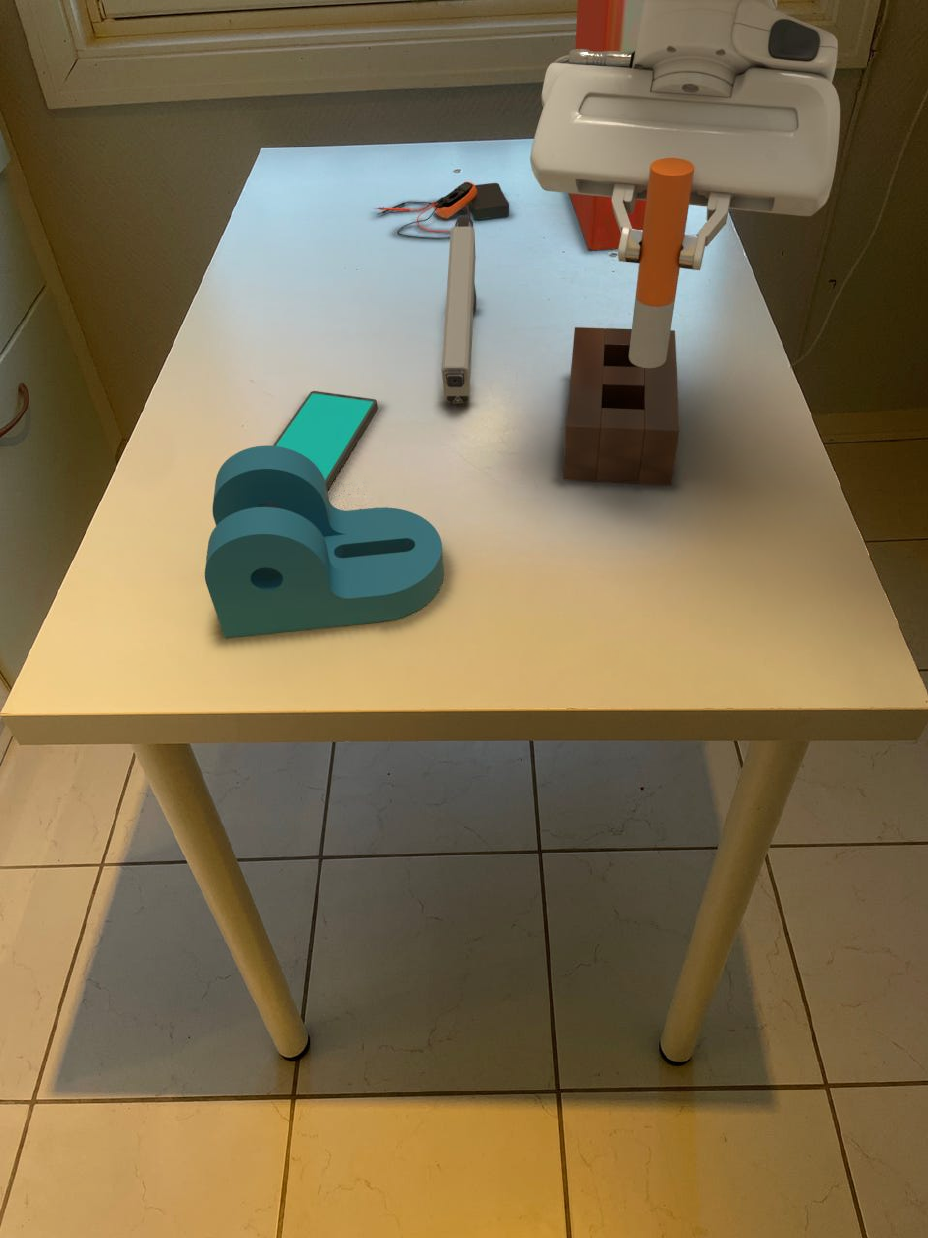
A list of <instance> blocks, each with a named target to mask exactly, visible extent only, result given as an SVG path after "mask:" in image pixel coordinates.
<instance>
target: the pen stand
mask: <svg viewBox="0 0 928 1238" xmlns="http://www.w3.org/2000/svg"><path fill="white" fill-rule="evenodd" d="M573 332H574V333H573V343H572V354H571V368H570V378H569V387H568V399H567V400H568V401H567V409H566V410H567V411H566V422H565V436H564V437H565V439H564V459H563V475H562V476H563V477H562V478H563V479H562V480H563V481H578V482H579V481H580V482H601V483H602V482H603V483H619V484H620V483H621V484H641V485H660V486H661V485H663V486H672V483H673V477H674V470H675V465H676V457H677V451H678V447H679V446H678V445H679V439H680V433H681V427H680V406H679V386H678V364H677V363H678V362H677V346H676V345H677V343H676V341H677V340H676V330H675V329H671V331H670V338H669V344H668V351H667V358H666V361H665V363H664V364H663V365H661V366H659V367H656V368H642V367H638V366H636V365H634V364H633V363H631V361H630V360H629V350H630V341H631V332H632V328H621V327H619V328H618V327H617V328H616V327H585V326H575V327H574V331H573Z"/></svg>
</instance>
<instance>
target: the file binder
mask: <svg viewBox="0 0 928 1238" xmlns="http://www.w3.org/2000/svg"><path fill="white" fill-rule="evenodd" d="M644 3H645V0H577V9H576V25H575V26H576V27H575V46H574V47H575V48H574V50H575V49H587V50H589V51H594V52H604V51H607V52H608V51H622V52H634V51H635V50H636V43H637V38H638V33H639V28H640V23H641V18H642V12H643V7H644ZM568 195H569V198H570V199H571V203H572V206H573V210H574V212H575V215H576V217H577V221H578V223H579V226H580V229H581V233H582V234H583V235H582V236H583V238H584V240H585V243H586V246H587V249H588V250H591V251H602V250H603V251H604V250H618V249H619V244H620V238H621V232H620V229H619V226H618V223H617V220H616V218H615V215H614V211H613V206H612V197H603V196H593V195H583V194H572V193H568ZM645 208H646V201H644V200H636V202H635V207H634V212H633V213H632V214H628V213H627V215H628V218H629V221H630V224H631V227H632V229H636V230H643V226H644V217H645Z"/></svg>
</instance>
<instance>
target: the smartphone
mask: <svg viewBox="0 0 928 1238" xmlns="http://www.w3.org/2000/svg"><path fill="white" fill-rule="evenodd" d="M377 410H378V400H377V399H376V398H370V397H369V398H368V397H363V396H362V397H361V396H356V395H355V396H354V395H347V394H341V393H333V392H326V391H319V390H312V391H310V392H309V394H307V397H306V398H305V399H304V401H303V402H302V404H301V405H300V406H299V408H298V409H297V411H296V412H295V414H293V416H292V418H291V419H290V421H289V422H288V423H287V425H286V426H285V428H284V429H283V431H282V432H281V434H279V436H278V438H277V439H276V440H275V442H274V443H273V445H272V446H279V447H284V448H288V449H291V450H294V451H296V452H298V453H300V454H302V455H304V456H305V457H307V458H308V459H310V460H311V461H312V462H313V463H314V464H315V465H316V466H317V467H318V468H319V470H320V471H321V473H322V475H323V477H324V479H325V483H326V488H327V491H328V490H329V488H330V487H331V485H332V483H333V482H334V480H335V479H336V477H337V475H338V474H339V472H340V470H341V469H342V467H343V465H344V464H345V462H346V460H347V459H348V457H349V456H350V454H351V453H352V451H353V449H354V447H355V446H356V444H357V442H358V441H359V439H360V438H361V436H362V435H363V433H364V431H365V429H366V428H367V426H368V425H369V423H370V422H371V419H372V418H373V417H374V415H375V413H376V411H377Z"/></svg>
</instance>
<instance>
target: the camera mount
mask: <svg viewBox="0 0 928 1238" xmlns="http://www.w3.org/2000/svg"><path fill="white" fill-rule="evenodd" d="M212 517H213V520H214V521H213V522H214V524H215V527H214V528H213V530H212V531H211V533H210V535H209V538H208V544H207V551H206V558H205V569H204V581H205V585H206V588H207V591H208V593H209V596H210V599H211V603H212V605H213V608H214V611H215V613H216V616H217V617H216V618H217V619H218V620H217V621H218V622H219V625H220V628H221V631H222V633H223V637H224V639H231V638H240V637H250V636H258V635H259V636H260V635H268V634H269V635H270V634H276V633H277V634H278V633H286V632H287V633H288V632H297V631H306V630H316V629H324V628H325V629H326V628H334V627H344V626H353V625H363V624H372V623H383V622H390V621H395V620H399V619H403V618H405V617H408V616H410V615H412V614H414V613H416V612H418V611H419V610H421V609H422V608H424V607H425V606H427V605H428V604H429V603H430V602H431V601H432V600H433V599H434V598H435V596H436V595H437V594H438V593H439V591H440V589H441V587H442V584H443V581H444V577H445V569H444V568H445V567H444V555H443V554H444V553H443V544H442V543H443V542H442V538H441V536H440V533H439V532H438V530H437V528H436V527H435V526H434V525H433V524H432V523H431V522H430V521H428V520H427V519H426V518H424V517H423V516H421V515H419V514H417V513H415V512H413V511H409V510H407V509H401V508H396V507H382V506H381V507H369V508H359V509H358V508H357V509H349V510H343V509H339V508H337V507H335V506H334V505H333V504H332V503H331V502H330V499H329V493H328V490H327V488H326V483H325V479H324V477H323V475H322V473H321V471H320V470H319V468H318V467H317V466H316V465H315V464H314V463H313V462H312V461H311V460H310V459H308V458H307V457H305V456H304V455H302V454H300V453H298V452H296V451H294V450H291V449H288V448H284V447H279V446H273V445H255V446H251V447H247V448H245V449H242V450H239V451H237V452H236V453H234V454H232V455H230V456H229V457H228V458H227V459H226V461H224V463H222V464H221V467H220V468H219V470H218V471H217V474H216V477H215V484H214V491H213V501H212Z"/></svg>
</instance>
